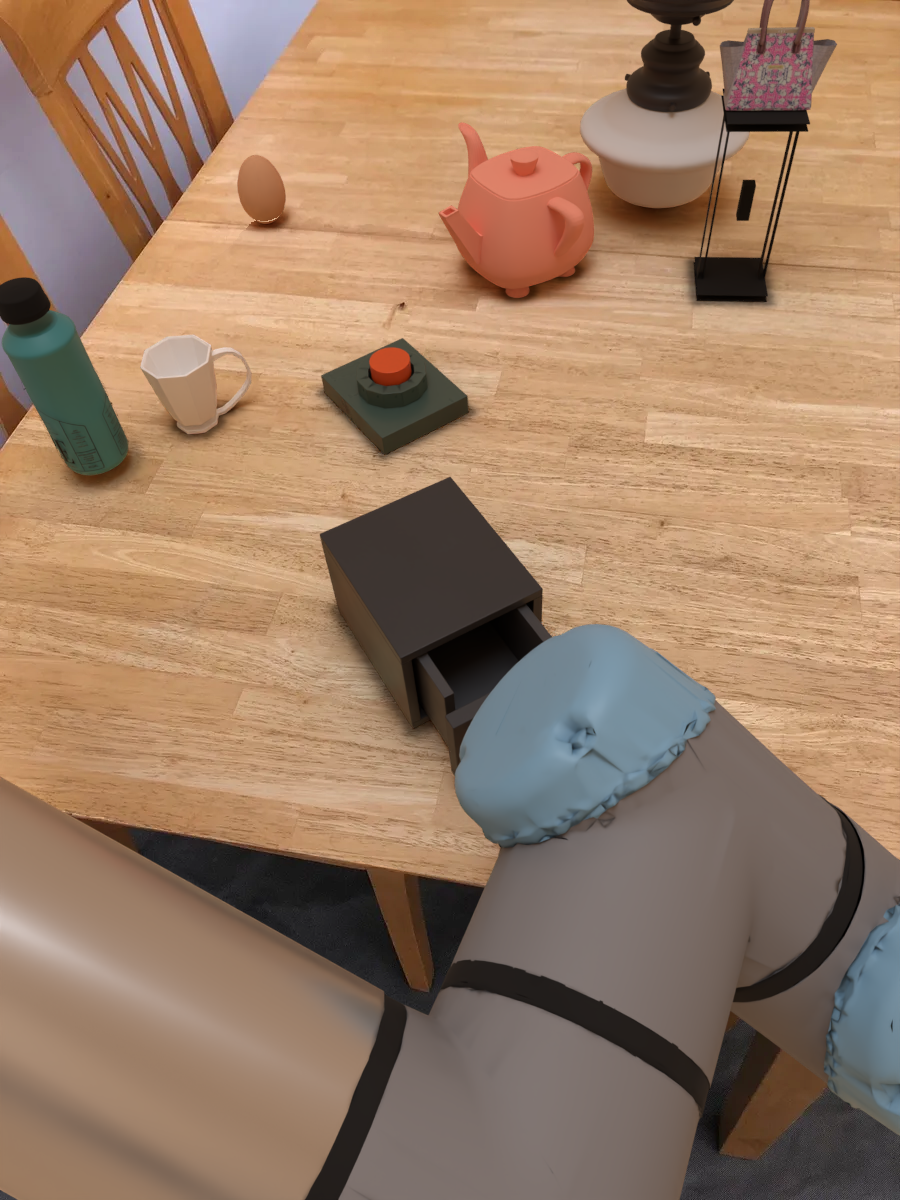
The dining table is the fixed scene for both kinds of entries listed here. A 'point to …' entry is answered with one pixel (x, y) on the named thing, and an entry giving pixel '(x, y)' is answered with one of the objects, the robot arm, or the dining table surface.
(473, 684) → the drawer
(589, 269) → the dining table surface
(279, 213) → the egg
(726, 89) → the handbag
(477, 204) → the teapot
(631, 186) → the light fixture
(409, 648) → the cabinet
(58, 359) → the beverage bottle
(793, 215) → the dining table surface
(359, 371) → the button block
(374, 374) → the button
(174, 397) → the cup
